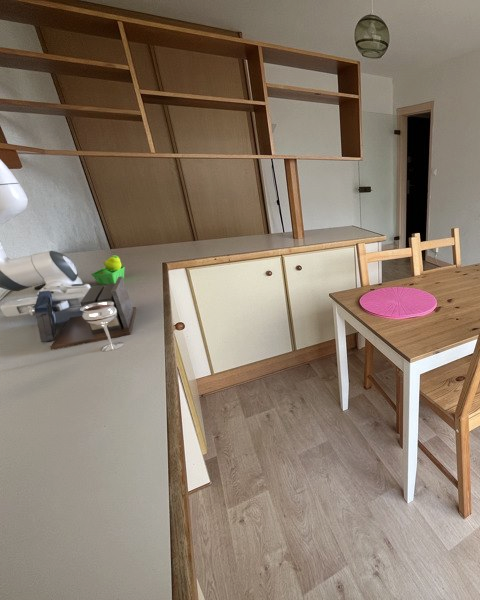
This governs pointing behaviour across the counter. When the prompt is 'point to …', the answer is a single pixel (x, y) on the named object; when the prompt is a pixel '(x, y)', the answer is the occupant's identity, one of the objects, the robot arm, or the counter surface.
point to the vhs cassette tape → (45, 316)
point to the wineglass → (101, 319)
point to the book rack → (85, 332)
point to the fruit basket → (110, 271)
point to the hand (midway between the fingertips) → (45, 310)
